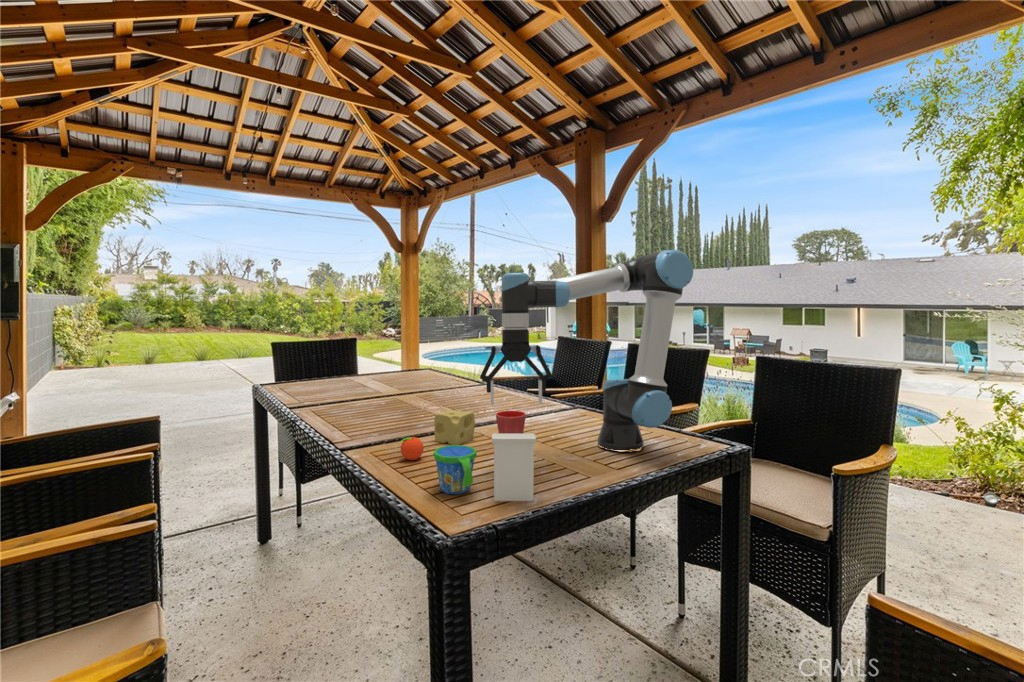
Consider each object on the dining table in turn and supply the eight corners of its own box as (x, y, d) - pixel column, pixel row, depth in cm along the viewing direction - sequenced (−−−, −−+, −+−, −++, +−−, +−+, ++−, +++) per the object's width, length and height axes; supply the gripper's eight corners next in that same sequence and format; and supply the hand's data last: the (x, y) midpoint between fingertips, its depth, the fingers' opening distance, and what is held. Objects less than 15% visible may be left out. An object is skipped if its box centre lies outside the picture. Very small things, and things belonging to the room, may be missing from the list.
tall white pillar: (532, 483, 124) (532, 426, 123) (535, 501, 111) (535, 438, 110) (493, 483, 124) (493, 426, 123) (491, 501, 111) (492, 438, 110)
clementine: (398, 464, 138) (398, 441, 138) (395, 458, 145) (395, 435, 144) (425, 461, 141) (425, 438, 141) (421, 455, 148) (421, 433, 147)
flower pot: (492, 444, 161) (492, 416, 161) (499, 435, 172) (499, 409, 171) (523, 445, 159) (523, 417, 159) (527, 437, 170) (527, 410, 170)
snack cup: (485, 497, 114) (485, 456, 113) (443, 504, 109) (443, 462, 109) (464, 477, 128) (464, 440, 127) (427, 483, 124) (426, 445, 123)
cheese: (456, 446, 158) (456, 417, 157) (432, 441, 164) (432, 413, 163) (475, 439, 167) (475, 412, 166) (452, 435, 173) (452, 408, 172)
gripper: (558, 327, 135) (558, 400, 136) (471, 328, 134) (472, 401, 136) (561, 328, 128) (562, 405, 129) (470, 329, 127) (471, 407, 128)
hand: (516, 403), depth 132 cm, fingers open, 13 cm apart
